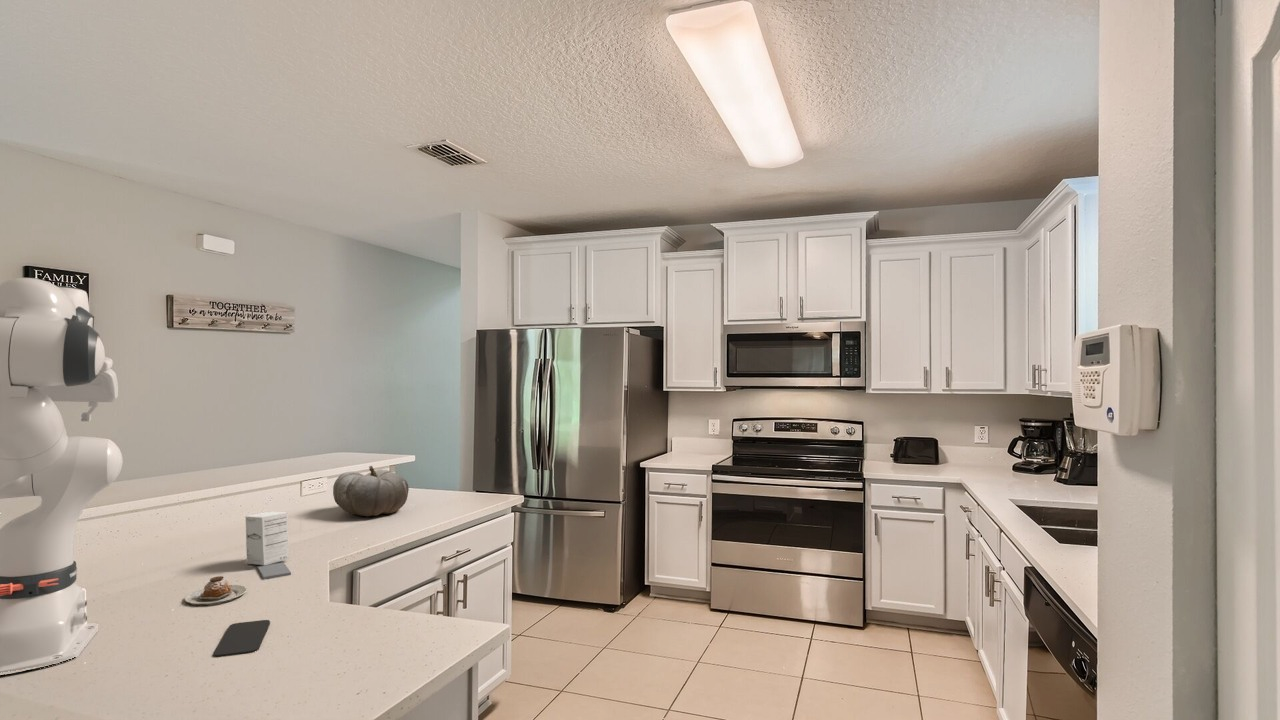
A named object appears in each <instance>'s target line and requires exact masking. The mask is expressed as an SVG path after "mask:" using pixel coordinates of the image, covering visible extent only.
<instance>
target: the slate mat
mask: <svg viewBox="0 0 1280 720" xmlns="http://www.w3.org/2000/svg"><path fill="white" fill-rule="evenodd" d="M257 571H258V572H259V574H260V575H261V577H262V579H263V580H268V579H274V578H279V577H286V576H291V575H292V572H291V570H290V569H289V568H288V566H287V565H286V563H285V562H283V561H282V562H276V563H272V564H268V565H265V566H263V565H258V566H257Z"/></svg>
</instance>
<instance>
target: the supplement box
mask: <svg viewBox="0 0 1280 720" xmlns="http://www.w3.org/2000/svg"><path fill="white" fill-rule="evenodd" d="M288 521H289V520H288V512H286V511H285V512H283V511H265V512H260V513H253V514H251V515H246V516H245V540H246V542H245V546H246V549H245V550H246V564H247V565H258V566H265V565H270V564H277V563H281V562H283V561H287V560H289V558H290V557H289V556H290V555H289V554H290V553H289V528H288V525H289V524H288Z"/></svg>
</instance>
